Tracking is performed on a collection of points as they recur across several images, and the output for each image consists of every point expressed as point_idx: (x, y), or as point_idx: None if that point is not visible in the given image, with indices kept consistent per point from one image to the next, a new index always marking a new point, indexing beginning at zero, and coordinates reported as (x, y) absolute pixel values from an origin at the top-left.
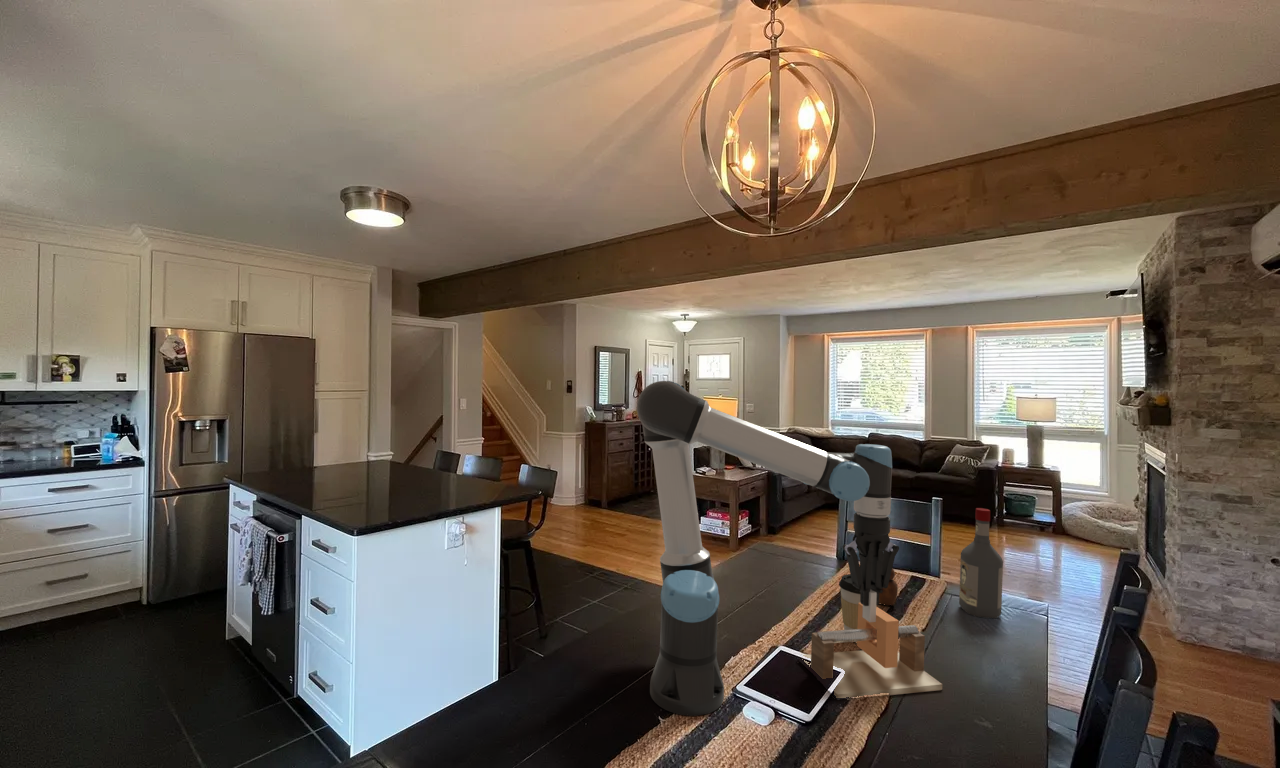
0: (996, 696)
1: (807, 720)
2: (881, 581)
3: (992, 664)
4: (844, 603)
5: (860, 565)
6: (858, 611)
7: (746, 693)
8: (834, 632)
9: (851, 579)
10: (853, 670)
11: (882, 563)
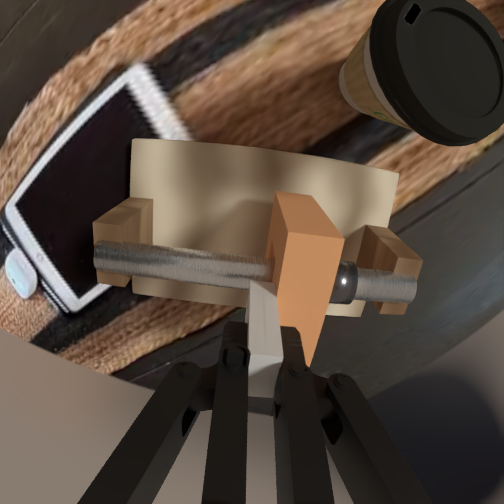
0: (414, 338)
1: (72, 310)
2: (329, 413)
3: (499, 267)
4: (358, 56)
5: (205, 469)
6: (283, 224)
7: (13, 228)
8: (134, 271)
9: (160, 385)
10: (220, 232)
11: (371, 478)
